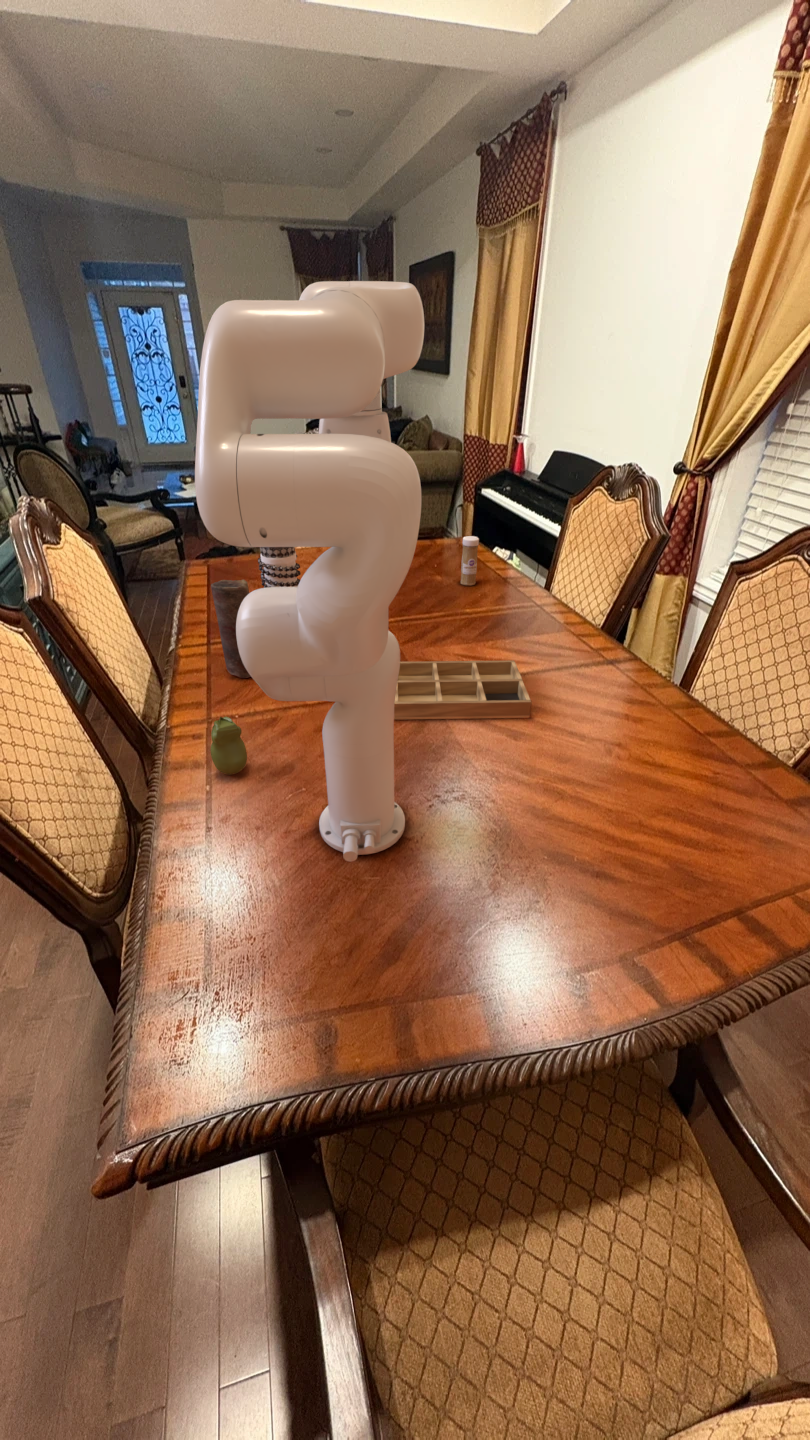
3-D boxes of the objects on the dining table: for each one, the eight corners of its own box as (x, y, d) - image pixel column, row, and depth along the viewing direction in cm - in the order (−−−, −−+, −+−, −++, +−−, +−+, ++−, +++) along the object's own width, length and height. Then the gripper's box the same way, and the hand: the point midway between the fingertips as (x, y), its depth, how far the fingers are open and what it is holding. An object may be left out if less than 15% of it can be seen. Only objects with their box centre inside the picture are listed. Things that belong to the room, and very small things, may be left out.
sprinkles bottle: (465, 587, 176) (468, 540, 169) (457, 582, 179) (459, 536, 172) (478, 584, 178) (482, 538, 170) (470, 580, 181) (473, 534, 174)
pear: (242, 757, 104) (233, 707, 99) (254, 772, 100) (246, 721, 95) (210, 768, 101) (199, 718, 96) (222, 784, 98) (211, 733, 92)
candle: (219, 674, 130) (202, 583, 119) (241, 660, 136) (228, 573, 125) (246, 682, 127) (232, 590, 116) (269, 667, 133) (257, 579, 122)
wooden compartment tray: (529, 717, 115) (531, 701, 113) (394, 719, 115) (394, 703, 113) (512, 674, 130) (514, 660, 128) (393, 676, 129) (392, 661, 127)
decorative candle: (264, 633, 148) (250, 529, 135) (301, 627, 151) (291, 525, 138) (272, 648, 141) (258, 540, 127) (311, 642, 144) (301, 535, 131)
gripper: (284, 403, 78) (297, 538, 87) (419, 403, 78) (417, 537, 87) (292, 398, 84) (303, 524, 93) (416, 398, 85) (415, 523, 94)
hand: (358, 530), depth 90 cm, fingers open, 9 cm apart
